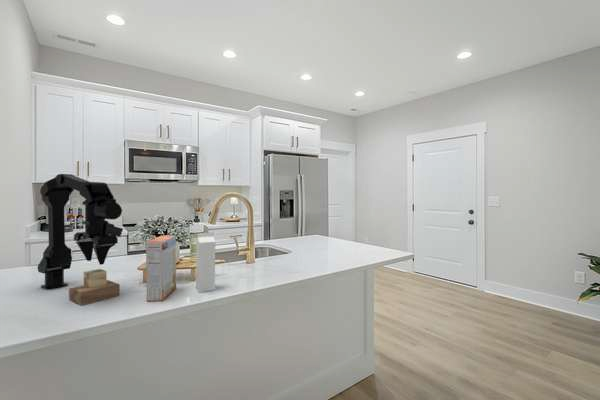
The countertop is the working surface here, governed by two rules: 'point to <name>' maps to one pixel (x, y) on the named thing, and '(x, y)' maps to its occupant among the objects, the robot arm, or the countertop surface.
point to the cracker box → (160, 267)
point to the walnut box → (93, 293)
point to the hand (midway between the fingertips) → (95, 262)
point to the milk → (205, 262)
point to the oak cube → (94, 278)
